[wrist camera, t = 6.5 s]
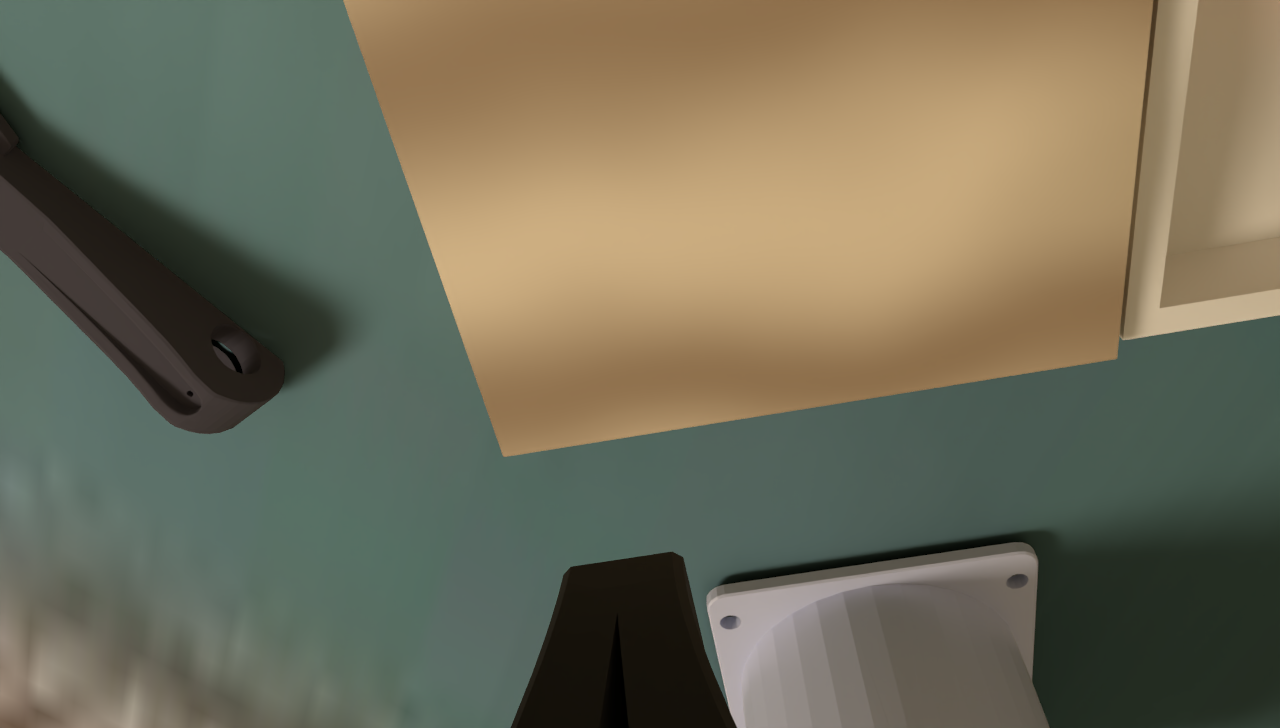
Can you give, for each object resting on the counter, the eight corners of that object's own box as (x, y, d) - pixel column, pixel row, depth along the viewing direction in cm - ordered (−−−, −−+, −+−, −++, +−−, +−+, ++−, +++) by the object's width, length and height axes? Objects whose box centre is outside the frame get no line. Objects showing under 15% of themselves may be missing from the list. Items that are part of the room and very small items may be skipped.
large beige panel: (1068, 285, 21) (1117, 358, 19) (512, 378, 22) (503, 456, 20) (1129, -657, 13) (1224, -700, 11) (246, -443, 14) (186, -448, 12)
